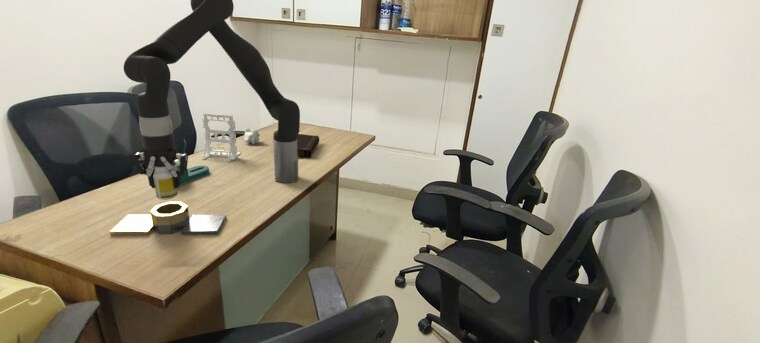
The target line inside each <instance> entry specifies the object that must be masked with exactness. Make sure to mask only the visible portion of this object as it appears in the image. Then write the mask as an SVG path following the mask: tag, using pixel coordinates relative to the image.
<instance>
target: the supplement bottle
mask: <svg viewBox="0 0 760 343" xmlns="http://www.w3.org/2000/svg"><path fill="white" fill-rule="evenodd" d="M155 171H156V172H155V173H154V175H153V178H154V184H155V188H154V189H155V195H156V198H157V199H158V200H164V201H166V200H173V199H174V198H176V197H177V196H178V188H174V183H173V175H172V173H171V172H170V171H169V170H168V169H167V167H162V166H159V167H155Z"/></svg>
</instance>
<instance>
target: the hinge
mask: <svg viewBox="0 0 760 343" xmlns="http://www.w3.org/2000/svg"><path fill="white" fill-rule="evenodd" d="M149 212H150V214H127V215H126V216H125V217H124V218H123V219H122V220H120V221H119V222H118V224H116V225H115V226H114V227H113V228H112V229H111V230H110V231H109V233H110V236H149V235H150V234H151V233H152V231H154V232H155V233H157V234H158V235H174V234H176V233H181V235H182V236H184V235H186V236H190V235H191V236H193V235H194V236H199V235H200V236H201V235H204V236H206V235H207V236H209V235H211V236H212V235H214V236H215V235H218V234H219V233H220V230H221V228H222V227H223V226H224V223H225V221H226V219H227V215H226V214H192V215H191V216H190V215H189V214H190V212H189V208H188V205H187V204H185V203H184V202H182V201H168V202H163V203H160V204H157V205H155V206H154V207H153V208H152V209H151V210H150V211H149Z"/></svg>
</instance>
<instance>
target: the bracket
mask: <svg viewBox="0 0 760 343" xmlns="http://www.w3.org/2000/svg"><path fill="white" fill-rule="evenodd" d="M176 164H177V163H176ZM177 167H178V168H179V169H180V164H177ZM207 175H210V168H209V166H208V165H194V166H192V167H189V168H187V171H186V172H185V173H184V174H183V175H180V177H181V185H183V184H186V183H189V182H192V181H194V180H197V179H199V178H201V177H205V176H207Z"/></svg>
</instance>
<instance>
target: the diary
mask: <svg viewBox="0 0 760 343" xmlns="http://www.w3.org/2000/svg"><path fill="white" fill-rule="evenodd" d="M319 143H320V137H319V135H310V134H301V133H298V136H297V150H298V157H300V159H310V158H311V157H312V155H313V153H314V152H315V151H316V149H317V146H318V145H319Z"/></svg>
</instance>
